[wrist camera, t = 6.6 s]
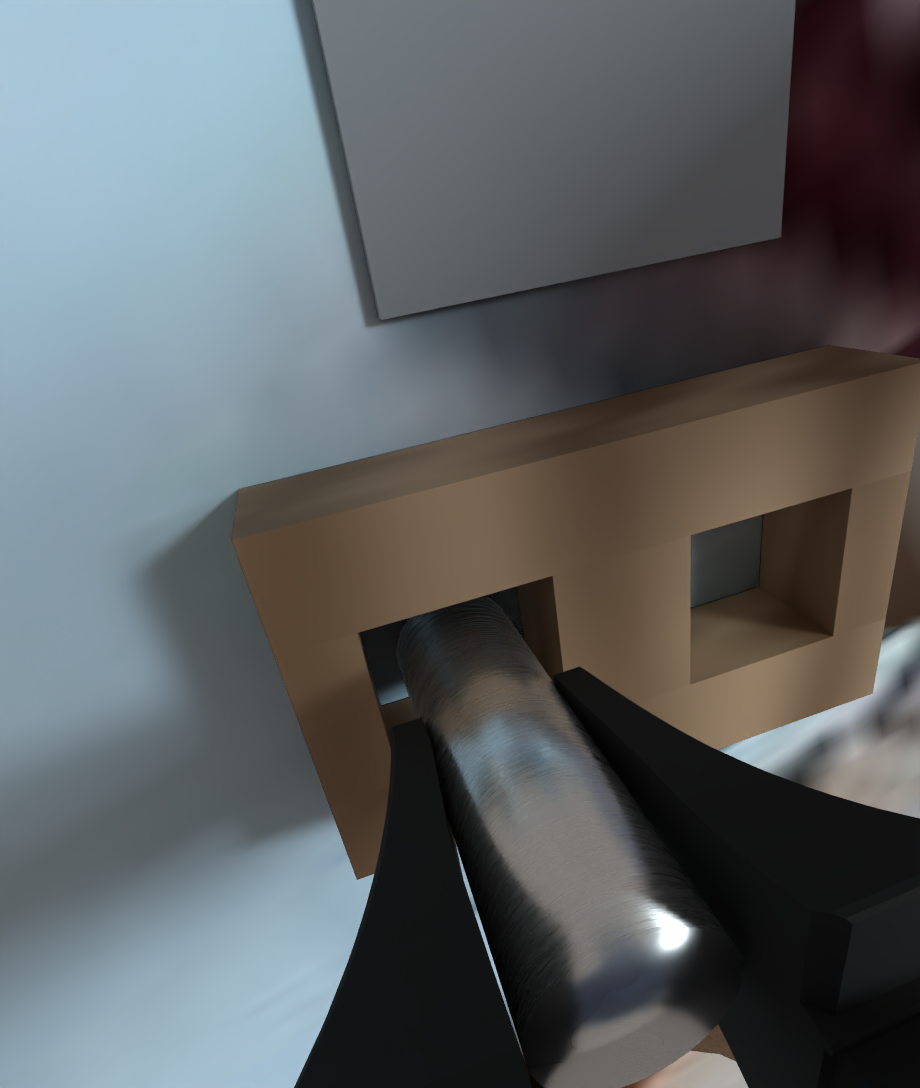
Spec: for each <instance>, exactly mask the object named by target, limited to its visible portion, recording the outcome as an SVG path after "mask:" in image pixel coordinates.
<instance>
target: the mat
mask: <svg viewBox="0 0 920 1088" xmlns="http://www.w3.org/2000/svg"><path fill="white" fill-rule="evenodd" d="M795 1H796V0H311V2H312V7H313V12H314V17H315V21H316V26H317V31H318V35H319V40H320V45H321V50H322V54H323V59H324V64H325V68H326V73H327V78H328V83H329V87H330V92H331V97H332V101H333V106H334V111H335V116H336V120H337V125H338V130H339V134H340V139H341V144H342V149H343V153H344V158H345V163H346V167H347V172H348V177H349V182H350V186H351V191H352V196H353V200H354V205H355V210H356V215H357V219H358V224H359V229H360V233H361V238H362V243H363V248H364V252H365V257H366V262H367V266H368V271H369V276H370V281H371V285H372V290H373V295H374V299H375V304H376V309H377V314H378V318H379V319H380V320H383V319H388V318H393V317H398V316H403V315H408V314H412V313H417V312H422V311H427V310H432V309H437V308H442V307H446V306H451V305H456V304H461V303H466V302H471V301H475V300H480V299H485V298H490V297H495V296H500V295H504V294H509V293H514V292H519V291H524V290H529V289H533V288H538V287H543V286H548V285H553V284H558V283H562V282H567V281H572V280H577V279H582V278H587V277H592V276H596V275H601V274H606V273H611V272H616V271H621V270H625V269H630V268H635V267H640V266H645V265H650V264H654V263H659V262H664V261H669V260H674V259H679V258H683V257H688V256H693V255H698V254H703V253H708V252H713V251H717V250H722V249H727V248H732V247H737V246H742V245H746V244H751V243H756V242H761V241H766V240H771V239H775V238H780V237H781V227H782V211H783V195H784V179H785V163H786V147H787V130H788V114H789V98H790V82H791V66H792V50H793V33H794V17H795Z"/></svg>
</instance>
